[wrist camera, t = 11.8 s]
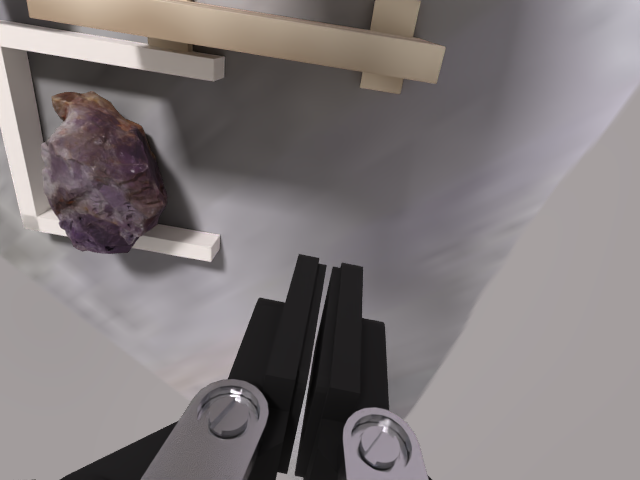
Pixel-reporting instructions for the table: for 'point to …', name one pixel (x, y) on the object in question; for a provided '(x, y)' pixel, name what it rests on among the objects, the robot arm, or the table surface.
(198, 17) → the shelf
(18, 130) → the corral
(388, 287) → the table surface
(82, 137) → the rock
